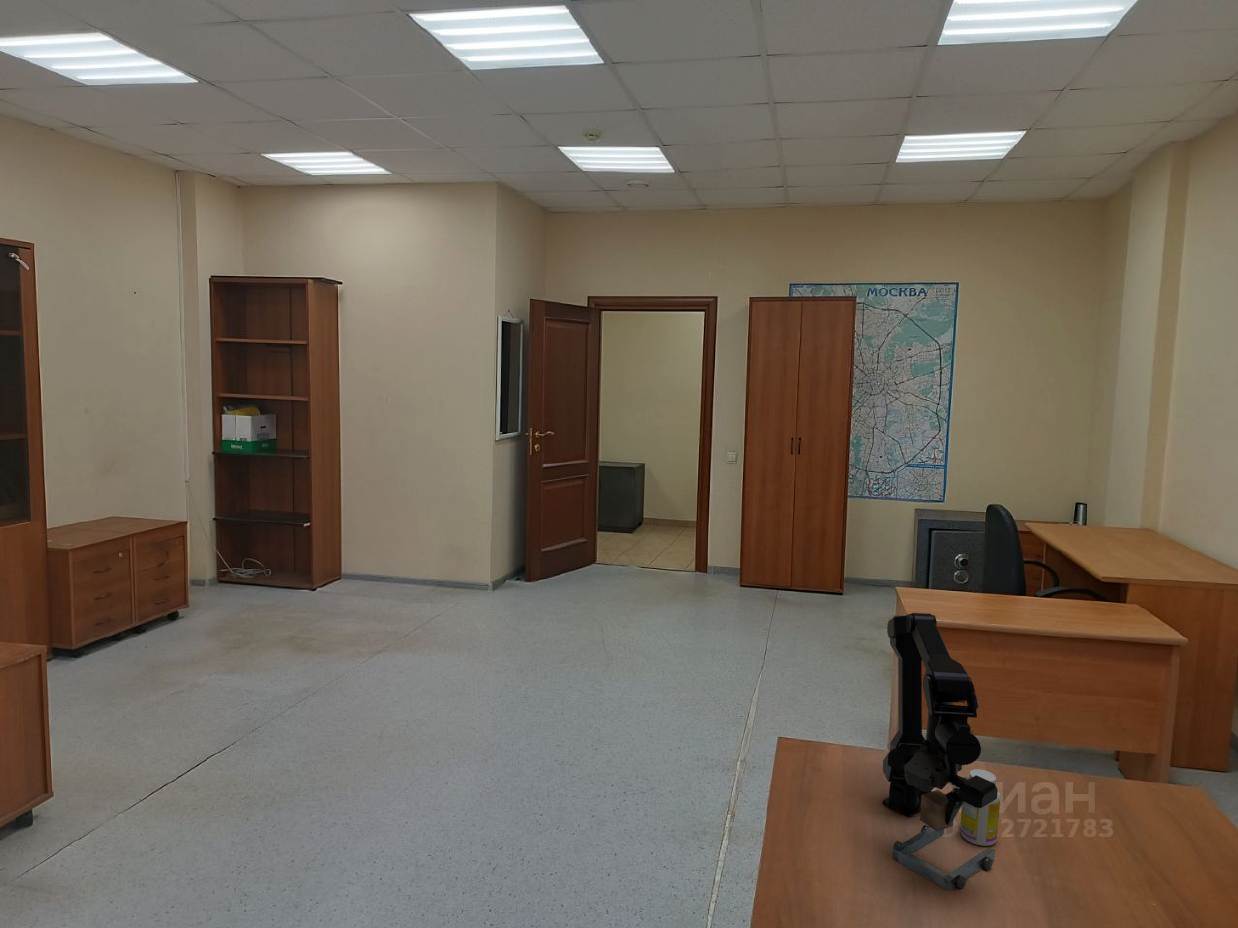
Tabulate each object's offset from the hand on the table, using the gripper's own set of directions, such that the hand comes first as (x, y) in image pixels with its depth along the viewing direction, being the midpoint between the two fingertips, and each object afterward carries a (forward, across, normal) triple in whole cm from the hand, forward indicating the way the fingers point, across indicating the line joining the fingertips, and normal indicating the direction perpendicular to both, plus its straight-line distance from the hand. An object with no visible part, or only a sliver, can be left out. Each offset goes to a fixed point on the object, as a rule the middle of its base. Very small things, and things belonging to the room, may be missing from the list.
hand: (936, 817), depth 150 cm
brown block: (+1, 0, 0) cm, 1 cm away
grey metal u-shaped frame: (+9, 0, +3) cm, 10 cm away
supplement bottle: (+10, 0, +15) cm, 18 cm away
